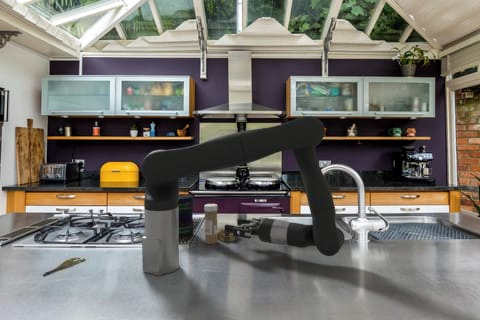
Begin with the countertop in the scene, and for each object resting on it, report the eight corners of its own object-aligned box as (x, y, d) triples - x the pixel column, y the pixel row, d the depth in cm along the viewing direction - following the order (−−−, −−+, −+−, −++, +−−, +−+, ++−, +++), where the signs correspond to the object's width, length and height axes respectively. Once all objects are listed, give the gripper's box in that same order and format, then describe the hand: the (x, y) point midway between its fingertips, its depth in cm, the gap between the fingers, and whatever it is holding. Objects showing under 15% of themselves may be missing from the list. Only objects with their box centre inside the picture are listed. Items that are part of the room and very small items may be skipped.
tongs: (38, 278, 81) (39, 270, 80) (76, 261, 93) (76, 255, 93) (52, 280, 80) (52, 272, 80) (87, 263, 92) (87, 256, 92)
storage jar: (191, 239, 111) (190, 198, 110) (164, 239, 111) (163, 198, 110) (195, 231, 121) (195, 193, 120) (170, 231, 121) (170, 193, 120)
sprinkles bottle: (219, 243, 107) (219, 205, 106) (208, 245, 104) (208, 206, 103) (213, 239, 110) (213, 202, 109) (202, 241, 108) (202, 204, 107)
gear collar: (230, 242, 107) (230, 235, 107) (213, 239, 111) (213, 232, 110) (240, 236, 113) (240, 230, 113) (223, 234, 117) (223, 227, 117)
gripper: (284, 215, 101) (241, 209, 109) (267, 225, 88) (220, 218, 96) (284, 237, 101) (241, 230, 109) (267, 250, 89) (220, 241, 97)
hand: (231, 224), depth 103 cm, fingers open, 8 cm apart
